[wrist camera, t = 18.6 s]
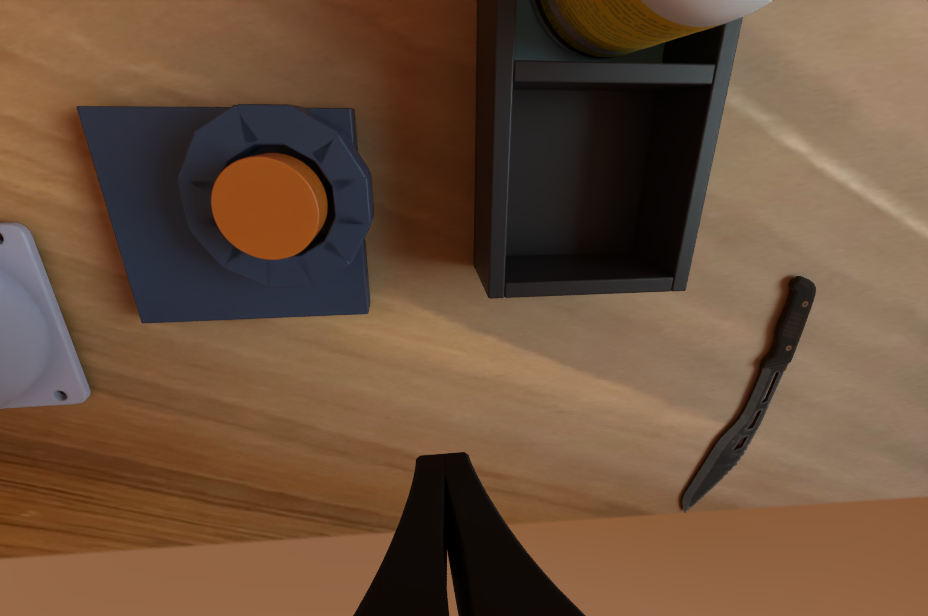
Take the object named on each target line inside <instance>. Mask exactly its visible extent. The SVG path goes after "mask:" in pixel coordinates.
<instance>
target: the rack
mask: <svg viewBox="0 0 928 616" xmlns="http://www.w3.org/2000/svg"><path fill="white" fill-rule="evenodd" d="M742 18H743V17H741V18H738V19H736V20H733V21H731V22H728V23H726V24H723V25H720V26H717V27H714V28H710V29H707V30H704V31H700V32H696V33H693V34H690V35H687V36H683V37H680V38H677V39H674V40H671V41H667V42H664V43H660V44H658V45H655V46H652V47H648V48H646V49H641V50H638V51H635V52H632V53H629V54H626V55H621V56H618V57H614V58H607V59H589V58H584V57H580V56H577V55H575V54H573V53H570V52H568V51H567V50H565V49H563V48H562V47H561V46H559V45H558V44H557V43H556V42H554V40H553V39H552V38H551V37H550V36H549V35H548V34H547V32H546V31H545V29H544V28H543V26H542V25H541V23H540V21H539V19H538V17H537V15H536V12H535V10H534V6H533V3H532V0H477V46H476V122H475V197H474V268H475V270H476V272H477V274H478V276H479V278H480V280H481V283H482V285H483V287H484V289H485V291H486V293H487V296H488V298H504V297H505V298H512V297H537V296H563V295H588V294H614V293H639V292H664V291H685V290H686V286H687V281H688V276H689V271H690V266H691V262H692V257H693V252H694V247H695V243H696V238H697V233H698V228H699V223H700V219H701V214H702V209H703V204H704V200H705V195H706V190H707V185H708V181H709V176H710V171H711V166H712V161H713V157H714V152H715V147H716V142H717V138H718V133H719V128H720V123H721V119H722V114H723V109H724V104H725V99H726V95H727V90H728V85H729V80H730V76H731V71H732V66H733V61H734V57H735V52H736V47H737V42H738V37H739V33H740V28H741V23H742Z"/></svg>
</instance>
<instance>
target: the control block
mask: <svg viewBox="0 0 928 616" xmlns="http://www.w3.org/2000/svg"><path fill="white" fill-rule="evenodd" d="M77 110H78V114H79V117H80V120H81V124H82V127H83V130H84V134H85V137H86V140H87V143H88V147H89V150H90V153H91V157H92V160H93V163H94V167H95V170H96V173H97V177H98V180H99V183H100V186H101V190H102V193H103V196H104V200H105V203H106V206H107V210H108V213H109V216H110V220H111V223H112V226H113V229H114V233H115V236H116V239H117V243H118V246H119V249H120V253H121V256H122V259H123V262H124V266H125V269H126V272H127V276H128V279H129V282H130V286H131V289H132V292H133V296H134V299H135V302H136V305H137V309H138V312H139V315H140V319H141V322H142V323H162V322H186V321H210V320H234V319H257V318H281V317H305V316H329V315H353V314H368V312H369V307H370V293H369V281H368V269H367V257H366V245H365V236H366V234H367V232H368V230H369V228H370V226H371V223H372V220H373V216H374V206H373V192H372V179H371V172H370V170H369V168H368V167H367V165H366V164H365V162H364V161H363V159H362V157H361V156H360V154H359V153H358V148H357V136H356V124H355V112H354V109H351V108H304V107H299V106H294V105H276V104H238V105H233V106H232V107H128V106H77ZM264 153H281V154H286V155H289V156H292V157H294V158H296V159H299V160H300V161H302V162H303V163H305V164H306V165H307V166H309V167H310V168H311V169H312V170H313V171H314V172H315V174H316V175H317V176H318V177H319V179H320V181H321V182H322V184H323V186H324V189H325V192H326V195H327V200H328V211H327V217H326V220H325V223H324V225H323V227H322V228H321V230H320V231H319V232H318V234H317V235H316V236H315V237H314V239H313V240H312V241H311V242H310V244H309V245H308V246H307V247H306V248H305V249H304V250H302V251H301V252H299V253H298V254H296V255H294V256H291V257H289V258H285V259H279V260H266V259H260V258H257V257H253V256H251V255H248V254H246V253H244V252H242V251H241V250H239V249H238V248H236V247H235V246H234V245H232V244H231V243H230V242H229V241H228V240H227V239H226V238H225V237H224V235H223V234H222V233H221V231H220V229H219V228H218V226H217V224H216V222H215V219H214V216H213V213H212V207H211V195H212V189H213V186H214V183H215V181H216V179H217V177H218V176H219V174H220V173H221V172H222V171H223V170H224V169H225V168H226V167H227V166H229V165H230V164H231V163H233V162H235V161H237V160H240V159H243V158H247V157H251V156H255V155H260V154H264Z"/></svg>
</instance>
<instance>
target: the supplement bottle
mask: <svg viewBox="0 0 928 616" xmlns="http://www.w3.org/2000/svg"><path fill="white" fill-rule="evenodd" d="M772 1H773V0H532V3H533V6H534V10H535V12H536V15H537V17H538V19H539V21H540V23H541V25H542V26H543V28H544V29H545V31H546V32H547V34H548V35H549V36H550V37H551V38H552V39H553V40H554V42H556V43H557V44H558V45H559V46H561V47H562V48H563V49H565V50H567V51H568V52H570V53H573V54H575V55H577V56H580V57H584V58H589V59H607V58H614V57H618V56H621V55H626V54H629V53H632V52H635V51H638V50H641V49H646V48H648V47H652V46H655V45H658V44H660V43H664V42H667V41H671V40H674V39H677V38H680V37H683V36H687V35H690V34H693V33H696V32H700V31H704V30H707V29H710V28H714V27H717V26H720V25H723V24H726V23H728V22H731V21H733V20H736V19H738V18H741V17H744V16H746V15H748V14H751V13H753V12H755V11H757V10H759V9H760V8H762V7H764V6H766V5H767V4H769V3H770V2H772Z"/></svg>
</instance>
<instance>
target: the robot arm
mask: <svg viewBox="0 0 928 616" xmlns="http://www.w3.org/2000/svg"><path fill="white" fill-rule="evenodd" d="M0 234H1V235H2V236H3V239H4V241H2V240H0V409H4V408H21V407H38V406H54V405H71V404H80V403H83V402H84V401H85V400H86V399H88V398H89V396H90V394H91V392H90V388H89V385H88V383H87V380H86V377H85V375H84V372H83V369H82V367H81V364H80V361H79V359H78V356H77V353H76V351H75V348H74V345H73V343H72V340H71V337H70V335H69V332H68V329H67V327H66V324H65V321H64V319H63V316H62V313H61V311H60V308H59V305H58V303H57V300H56V297H55V295H54V292H53V289H52V287H51V284H50V281H49V279H48V276H47V273H46V271H45V268H44V265H43V263H42V260H41V257H40V255H39V252H38V250H37V247H36V244H35V242H34V239H33V236H32V234H31V232H30V231H29V229H27V228H26V227H25V226H24V225H22V224H20V223H16V222H0ZM60 391H62V392H64V393H65V394H66V395H67V396H65V395H63V394H62V393H61V392H60ZM447 551H448V557H449V562H450V568H451V575H452V580H453V586H454V592H455V598H456V603H457V609H458V614H459V616H585V615H584V614H583V613H582V612H581V611H580V610H579V609H578V608H577V607H576V606H575V605H574V604H573V603H572V602H571V601H570V600H569V599H568V598H567V597H566V596H565V595H564V594H563V593H562V592H561V591H560V590H559V589H558V588H557V587H556V585H555V584H554V583H553V582H552V581H551V580H550V579H549V578H548V576H547V575H546V574H545V573H544V572H543V571H542V570H541V569H540V567H539V566H538V565H537V564H536V563H535V561H534V560H533V559H532V558H531V557H530V555H529V554H528V553H527V552H526V550H525V549H524V548H523V546H522V545H521V544H520V542H519V541H518V540H517V539H516V537H515V536H514V534H513V533H512V531H511V530H510V529H509V527H508V526H507V524H506V523H505V521H504V520H503V518H502V517H501V515H500V514H499V512H498V511H497V509H496V507H495V506H494V504H493V503H492V501H491V499H490V498H489V496H488V494H487V493H486V491H485V489H484V487H483V486H482V484H481V482H480V480H479V478H478V476H477V474H476V472H475V470H474V468H473V466H472V463H471V461H470V458H469V455H468V454H466V453H465V452H460V453H447V454H435V455H423V456H419V457H418V458H417V459H416V467H415V473H414V478H413V482H412V486H411V489H410V493H409V496H408V499H407V502H406V505H405V508H404V511H403V514H402V517H401V519H400V522H399V525H398V527H397V529H396V532H395V534H394V537H393V539H392V542H391V544H390V546H389V549H388V551H387V553H386V555H385V557H384V560H383V562H382V564H381V566H380V568H379V570H378V572H377V574H376V576H375V578H374V580H373V582H372V583H371V585H370V587H369V589H368V591H367V593H366V595H365V596H364V598H363V600H362V602H361V603H360V605H359V607H358V609H357V610H356V612H355V614H354V615H353V616H449V609H448V598H447Z"/></svg>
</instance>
